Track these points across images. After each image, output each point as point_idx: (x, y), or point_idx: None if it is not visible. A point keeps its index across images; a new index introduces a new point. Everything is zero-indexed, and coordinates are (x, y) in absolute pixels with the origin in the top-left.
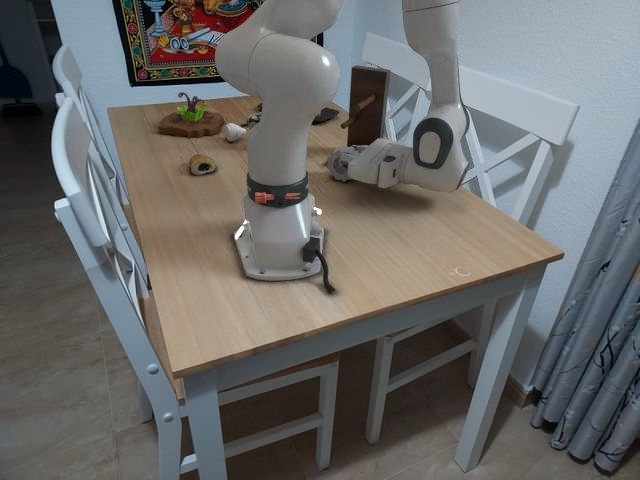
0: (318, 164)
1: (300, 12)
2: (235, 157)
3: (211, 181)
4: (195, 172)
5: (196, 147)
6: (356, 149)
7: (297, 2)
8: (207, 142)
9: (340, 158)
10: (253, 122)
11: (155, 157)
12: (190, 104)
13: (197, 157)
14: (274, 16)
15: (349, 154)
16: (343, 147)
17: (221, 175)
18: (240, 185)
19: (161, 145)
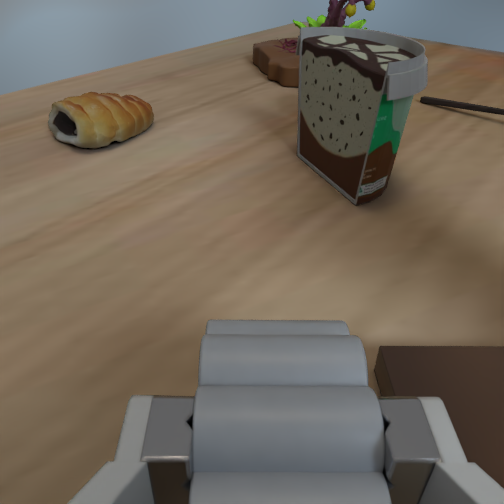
0: (353, 331)
1: None
2: (219, 149)
3: (23, 166)
4: (52, 130)
5: (226, 98)
6: (407, 477)
7: None
8: (269, 99)
9: (474, 393)
10: (310, 53)
11: (131, 84)
12: (332, 8)
13: (87, 95)
14: None
15: (126, 480)
16: (298, 351)
17: (74, 166)
18: (7, 215)
19: (197, 74)
